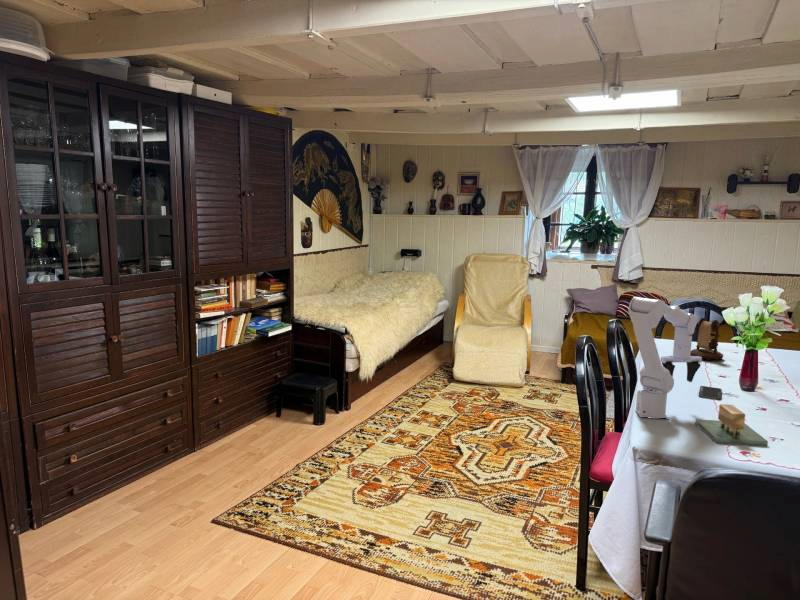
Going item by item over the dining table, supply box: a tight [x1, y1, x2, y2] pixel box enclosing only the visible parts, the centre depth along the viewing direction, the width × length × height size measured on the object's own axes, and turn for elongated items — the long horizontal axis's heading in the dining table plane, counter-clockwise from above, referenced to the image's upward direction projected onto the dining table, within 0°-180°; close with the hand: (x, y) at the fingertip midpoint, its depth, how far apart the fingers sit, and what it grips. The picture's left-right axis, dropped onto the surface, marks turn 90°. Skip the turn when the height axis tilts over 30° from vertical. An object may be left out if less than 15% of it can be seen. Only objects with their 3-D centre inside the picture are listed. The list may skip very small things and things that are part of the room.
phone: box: [698, 385, 723, 401], centre depth 228 cm, size 8×1×15 cm
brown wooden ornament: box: [690, 317, 724, 362], centre depth 285 cm, size 15×15×20 cm
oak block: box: [717, 403, 746, 429], centre depth 184 cm, size 4×9×5 cm, turn 173°
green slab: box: [694, 418, 769, 447], centre depth 185 cm, size 15×17×4 cm
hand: (679, 381), depth 209 cm, fingers open, 7 cm apart
